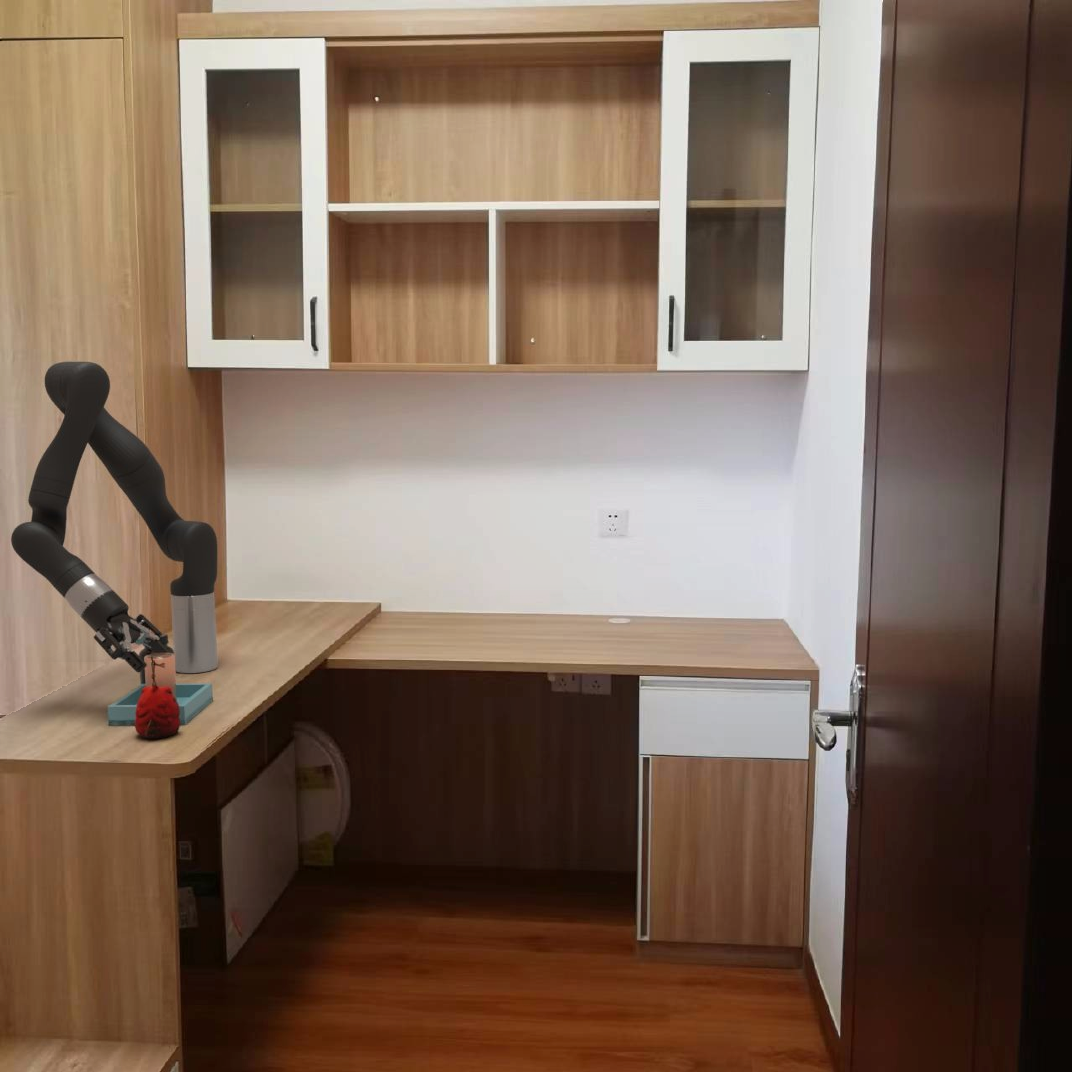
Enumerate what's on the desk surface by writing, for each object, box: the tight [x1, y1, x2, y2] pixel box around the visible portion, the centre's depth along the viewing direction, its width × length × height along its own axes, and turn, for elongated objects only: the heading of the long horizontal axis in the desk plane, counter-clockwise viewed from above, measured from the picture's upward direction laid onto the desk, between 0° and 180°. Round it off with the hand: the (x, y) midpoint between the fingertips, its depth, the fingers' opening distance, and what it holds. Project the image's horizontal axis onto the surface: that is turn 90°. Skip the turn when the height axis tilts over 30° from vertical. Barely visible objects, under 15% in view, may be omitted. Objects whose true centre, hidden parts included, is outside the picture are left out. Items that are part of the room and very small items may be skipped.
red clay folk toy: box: [134, 656, 181, 740], centre depth 178 cm, size 8×7×15 cm
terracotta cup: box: [144, 653, 177, 701], centre depth 192 cm, size 5×5×10 cm
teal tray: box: [107, 682, 214, 726], centre depth 192 cm, size 16×14×4 cm
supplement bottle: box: [138, 632, 174, 685], centre depth 206 cm, size 7×7×12 cm
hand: (155, 663), depth 192 cm, fingers open, 8 cm apart
